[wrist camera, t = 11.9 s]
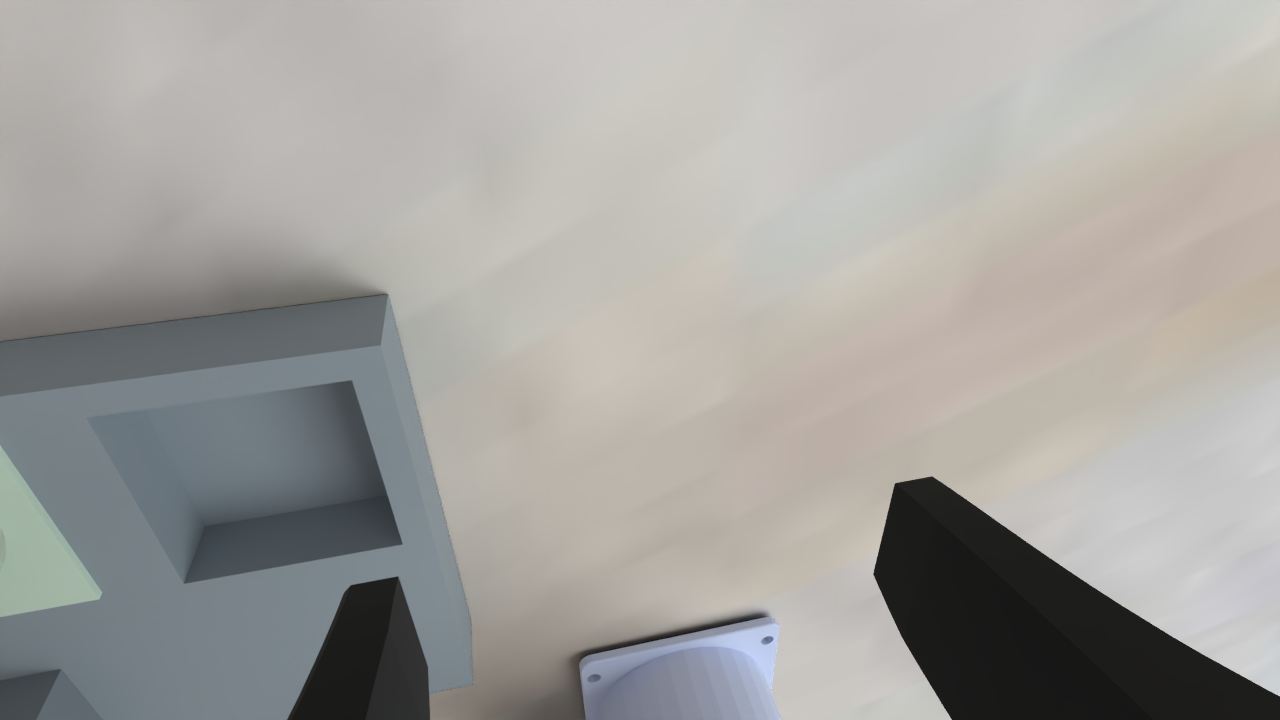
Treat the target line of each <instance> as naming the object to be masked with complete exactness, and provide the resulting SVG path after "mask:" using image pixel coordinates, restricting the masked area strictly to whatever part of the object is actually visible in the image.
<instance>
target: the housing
mask: <svg viewBox="0 0 1280 720" xmlns="http://www.w3.org/2000/svg"><path fill="white" fill-rule="evenodd" d="M0 528H1V530H2V532H3V535H4V537H5V543H6V556H5V559H4V563H3V565H2V567H1V568H0V720H287V719H288V717H289V715H290V713H291V711H292V709H293V707H294V705H295V703H296V701H297V699H298V697H299V695H300V693H301V691H302V688H303V686H304V684H305V682H306V680H307V678H308V675H309V673H310V671H311V669H312V667H313V665H314V663H315V660H316V658H317V656H318V654H319V651H320V649H321V647H322V645H323V642H324V640H325V638H326V635H327V633H328V631H329V628H330V626H331V624H332V621H333V619H334V617H335V614H336V612H337V609H338V607H339V604H340V602H341V599H342V597H343V594H344V592H345V591H346V590H347V589H348V588H349V587H350V586H351V585H354V584H359V583H365V582H370V581H375V580H381V579H386V578H392V577H397V576H399V580H400V583H401V586H402V589H403V592H404V595H405V598H406V601H407V604H408V607H409V610H410V613H411V616H412V619H413V622H414V625H415V628H416V632H417V635H418V638H419V641H420V644H421V647H422V650H423V653H424V656H425V659H426V662H427V665H428V679H429V694H430V693H434V692H439V691H444V690H448V689H453V688H458V687H462V686H467V685H472V684H473V662H472V630H471V619H470V615H469V611H468V607H467V603H466V599H465V595H464V591H463V587H462V583H461V579H460V575H459V571H458V567H457V563H456V560H455V556H454V552H453V548H452V544H451V540H450V536H449V532H448V528H447V524H446V520H445V516H444V512H443V508H442V504H441V500H440V496H439V493H438V489H437V485H436V481H435V477H434V473H433V469H432V465H431V461H430V457H429V453H428V449H427V445H426V441H425V437H424V433H423V429H422V426H421V422H420V418H419V414H418V410H417V406H416V402H415V398H414V394H413V390H412V386H411V382H410V378H409V374H408V370H407V366H406V362H405V359H404V355H403V351H402V347H401V343H400V339H399V335H398V331H397V327H396V323H395V319H394V315H393V311H392V307H391V303H390V299H389V295H388V294H386V295H378V296H369V297H361V298H353V299H345V300H337V301H329V302H321V303H313V304H305V305H296V306H288V307H280V308H272V309H264V310H256V311H248V312H240V313H232V314H223V315H215V316H207V317H199V318H191V319H183V320H175V321H167V322H159V323H150V324H142V325H134V326H126V327H118V328H110V329H102V330H94V331H86V332H77V333H69V334H61V335H53V336H45V337H37V338H29V339H21V340H12V341H4V342H0Z"/></svg>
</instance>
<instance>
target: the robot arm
mask: <svg viewBox="0 0 1280 720" xmlns="http://www.w3.org/2000/svg"><path fill="white" fill-rule="evenodd" d="M874 577H875V579H876V581H877V584H878V586H879V588H880V590H881V593H882V595H883V597H884V599H885V602H886V604H887V606H888V609H889V611H890V613H891V615H892V617H893V619H894V621H895V623H896V625H897V628H898V630H899V632H900V634H901V636H902V638H903V640H904V641H905V643H906V645H907V647H908V648H909V650H910V652H911V653H912V655H913V657H914V658H915V660H916V662H917V663H918V665H919V667H920V668H921V670H922V672H923V673H924V675H925V677H926V678H927V680H928V681H929V683H930V685H931V686H932V688H933V690H934V691H935V693H936V695H937V696H938V698H939V699H940V701H941V703H942V704H943V706H944V708H945V709H946V711H947V712H948V714H949V716H950V717H951V719H952V720H1280V696H1278V695H1276V694H1274V693H1272V692H1270V691H1268V690H1266V689H1264V688H1263V687H1261V686H1259V685H1257V684H1255V683H1253V682H1252V681H1250V680H1248V679H1246V678H1244V677H1243V676H1241V675H1239V674H1237V673H1235V672H1233V671H1232V670H1230V669H1228V668H1226V667H1224V666H1223V665H1221V664H1219V663H1217V662H1215V661H1213V660H1212V659H1210V658H1208V657H1206V656H1204V655H1203V654H1201V653H1199V652H1197V651H1196V650H1194V649H1192V648H1190V647H1189V646H1187V645H1185V644H1184V643H1182V642H1180V641H1178V640H1177V639H1175V638H1173V637H1172V636H1170V635H1168V634H1167V633H1165V632H1164V631H1162V630H1160V629H1159V628H1157V627H1155V626H1154V625H1152V624H1151V623H1149V622H1147V621H1146V620H1144V619H1142V618H1141V617H1139V616H1138V615H1136V614H1134V613H1133V612H1131V611H1130V610H1128V609H1126V608H1125V607H1123V606H1121V605H1120V604H1118V603H1117V602H1115V601H1114V600H1112V599H1110V598H1109V597H1107V596H1106V595H1104V594H1103V593H1101V592H1100V591H1098V590H1097V589H1095V588H1093V587H1092V586H1090V585H1089V584H1087V583H1086V582H1084V581H1083V580H1081V579H1080V578H1078V577H1077V576H1075V575H1074V574H1072V573H1071V572H1069V571H1068V570H1066V569H1065V568H1063V567H1062V566H1060V565H1059V564H1058V563H1056V562H1055V561H1053V560H1052V559H1050V558H1049V557H1047V556H1046V555H1044V554H1043V553H1041V552H1040V551H1039V550H1037V549H1036V548H1034V547H1033V546H1031V545H1030V544H1028V543H1027V542H1026V541H1024V540H1023V539H1021V538H1020V537H1018V536H1017V535H1016V534H1014V533H1013V532H1011V531H1010V530H1008V529H1007V528H1006V527H1004V526H1003V525H1001V524H1000V523H998V522H997V521H996V520H994V519H993V518H991V517H990V516H989V515H987V514H986V513H984V512H983V511H981V510H980V509H979V508H977V507H976V506H974V505H973V504H972V503H970V502H969V501H967V500H966V499H964V498H963V497H962V496H960V495H959V494H957V493H956V492H954V491H953V490H951V489H950V488H949V487H947V486H946V485H944V484H943V483H941V482H940V481H938V480H937V479H935V478H934V477H927V478H921V479H916V480H911V481H905V482H900V483H895V486H894V490H893V494H892V498H891V502H890V507H889V511H888V515H887V519H886V523H885V527H884V532H883V536H882V540H881V544H880V548H879V553H878V557H877V561H876V565H875V569H874ZM779 630H780V629H779V625H778V623H777V621H776V619H775V618H772V617H764V618H759V619H755V620H750V621H745V622H741V623H736V624H731V625H727V626H722V627H717V628H713V629H708V630H703V631H699V632H694V633H689V634H684V635H680V636H675V637H670V638H666V639H661V640H656V641H652V642H647V643H642V644H638V645H633V646H628V647H624V648H619V649H614V650H610V651H605V652H600V653H596V654H591V655H588V656H586V657H584V658H583V659H582V660H581V661H580V662H579V670H580V678H581V686H582V694H583V702H584V710H585V718H586V720H782V718H781V715H780V713H779V710H778V708H777V705H776V703H775V700H774V698H773V695H772V693H771V688H772V681H773V674H774V666H775V659H776V652H777V644H778V637H779ZM287 720H430V709H429V679H428V665H427V662H426V659H425V656H424V653H423V650H422V647H421V644H420V641H419V638H418V635H417V632H416V628H415V625H414V622H413V619H412V616H411V613H410V610H409V607H408V604H407V601H406V598H405V595H404V592H403V589H402V586H401V583H400V580H399V576H397V577H392V578H386V579H381V580H375V581H370V582H365V583H359V584H354V585H351V586H350V587H349V588H348V589H347V590H346V591H345V592H344V594H343V597H342V599H341V602H340V604H339V607H338V609H337V612H336V614H335V617H334V619H333V621H332V624H331V626H330V628H329V631H328V633H327V635H326V638H325V640H324V642H323V645H322V647H321V649H320V651H319V654H318V656H317V658H316V660H315V663H314V665H313V667H312V669H311V671H310V673H309V675H308V678H307V680H306V682H305V684H304V686H303V688H302V691H301V693H300V695H299V697H298V699H297V701H296V703H295V705H294V707H293V709H292V711H291V713H290V715H289V717H288V719H287Z"/></svg>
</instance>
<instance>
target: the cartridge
mask: <svg viewBox="0 0 1280 720" xmlns="http://www.w3.org/2000/svg"><path fill="white" fill-rule="evenodd" d="M5 556H6V543H5V537H4V535H3V532H2V530H1V528H0V568H1V567H2V565H3V563H4V559H5Z"/></svg>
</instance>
